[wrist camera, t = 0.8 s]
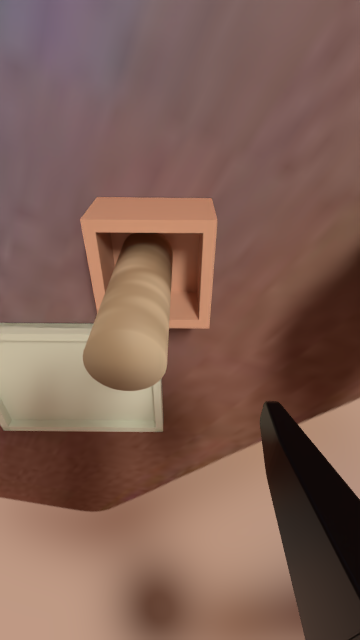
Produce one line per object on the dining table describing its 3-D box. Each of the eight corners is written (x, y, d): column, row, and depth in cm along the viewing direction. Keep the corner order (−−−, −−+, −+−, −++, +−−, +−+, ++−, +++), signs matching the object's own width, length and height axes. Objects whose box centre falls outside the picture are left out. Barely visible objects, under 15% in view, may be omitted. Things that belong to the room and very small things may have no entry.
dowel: (172, 230, 18) (166, 330, 10) (173, 277, 19) (167, 391, 12) (119, 229, 18) (75, 329, 10) (124, 277, 19) (90, 390, 12)
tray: (159, 324, 22) (158, 335, 21) (163, 420, 29) (162, 431, 28) (-40, 322, 22) (-50, 333, 21) (9, 419, 29) (3, 430, 28)
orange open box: (211, 198, 17) (217, 220, 14) (205, 295, 21) (209, 328, 18) (96, 197, 17) (79, 219, 14) (111, 294, 21) (100, 327, 18)
